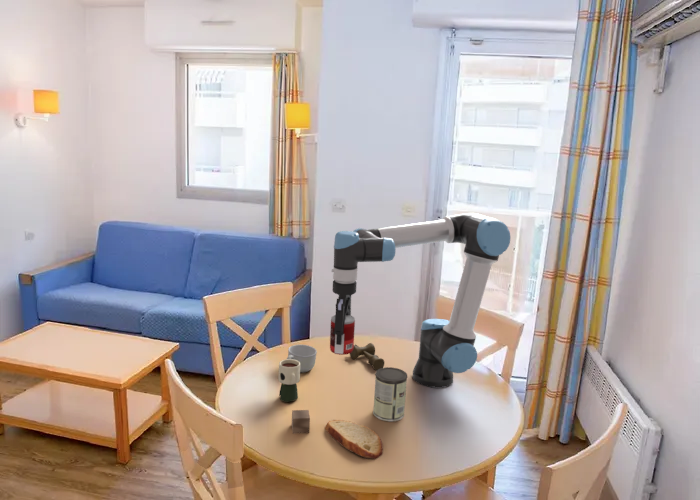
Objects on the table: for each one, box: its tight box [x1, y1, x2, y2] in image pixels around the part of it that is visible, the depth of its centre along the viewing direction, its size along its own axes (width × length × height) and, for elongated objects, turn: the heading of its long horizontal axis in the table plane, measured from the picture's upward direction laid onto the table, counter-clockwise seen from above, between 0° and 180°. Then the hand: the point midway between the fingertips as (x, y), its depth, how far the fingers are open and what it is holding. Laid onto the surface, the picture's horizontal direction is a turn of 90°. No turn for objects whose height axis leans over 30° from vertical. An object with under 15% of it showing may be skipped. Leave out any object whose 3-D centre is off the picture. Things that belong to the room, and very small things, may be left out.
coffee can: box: [372, 366, 408, 422], centre depth 180 cm, size 10×10×14 cm
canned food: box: [329, 315, 356, 356], centre depth 180 cm, size 8×8×11 cm
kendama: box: [349, 342, 385, 371], centre depth 222 cm, size 6×10×20 cm
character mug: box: [277, 358, 301, 403], centre depth 186 cm, size 11×7×13 cm, turn 22°
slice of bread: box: [324, 419, 384, 460], centre depth 165 cm, size 18×18×4 cm
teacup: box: [286, 344, 318, 373], centre depth 210 cm, size 14×11×8 cm
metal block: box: [291, 409, 311, 434], centre depth 169 cm, size 5×5×5 cm
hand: (341, 347), depth 181 cm, fingers closed on canned food, 8 cm apart
